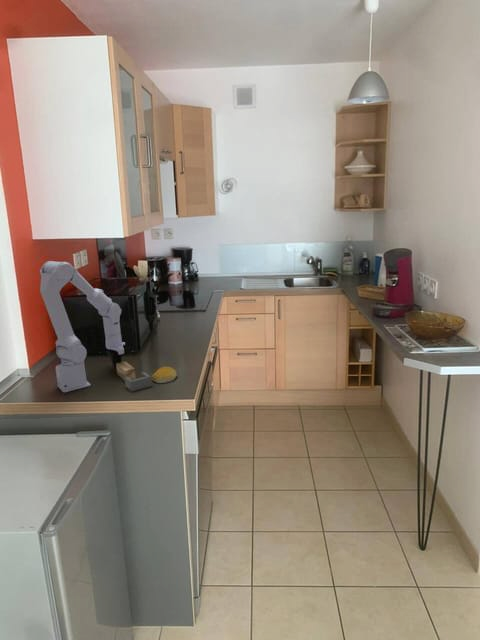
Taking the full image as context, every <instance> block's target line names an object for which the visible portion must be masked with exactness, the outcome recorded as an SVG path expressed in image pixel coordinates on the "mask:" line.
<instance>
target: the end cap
mask: <svg viewBox="0 0 480 640" xmlns="http://www.w3.org/2000/svg"><path fill="white" fill-rule="evenodd" d="M140 375H141V377H138V378H136V379H135V380H132V379H131V378H129V377H125V380H124V382H125V383H124V384H125V388H127V389H128V390H129V391H130V392H135V391H138V390H143V389H146V388H151V387H153V383H152V382H153V380H152V375H150V374H148V373H146V371H142V372H141V374H140Z"/></svg>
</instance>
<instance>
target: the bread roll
mask: <svg viewBox="0 0 480 640" xmlns="http://www.w3.org/2000/svg"><path fill="white" fill-rule="evenodd" d="M177 375H178V374H177V371H176V370H175V369H174V368H173V367H170V366H163V367H160V368H158V369H157V370H156V371H155V372H154V373H153V374H152V375H151V380H152V382H154V383H157V384H166V383H169V382H172V381H174V380H175V379H176V378H177V377H178V376H177Z"/></svg>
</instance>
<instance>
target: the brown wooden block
mask: <svg viewBox="0 0 480 640" xmlns="http://www.w3.org/2000/svg"><path fill="white" fill-rule="evenodd" d="M116 367H117V368H116V373H117V374H116V375H117V376H118V377H120V378H121V379H122V380H123V381H125V377H129V378H131V379H132V380H135V379H137V377H136V370H135V369H136V368H135V367H133V366H132V365H131V364H129V363H128V362H127V361H121V362H120V363H116Z"/></svg>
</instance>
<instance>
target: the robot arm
mask: <svg viewBox="0 0 480 640" xmlns="http://www.w3.org/2000/svg"><path fill="white" fill-rule="evenodd" d="M39 274H40V277H41V278H40V287H39V292H40V295H41V297H42V301H43V302H44V306H45V309H46V311H47V314H48V315H49V319H50V321H51V324H52V326H53V329H54V333H55V335H56V337H57V340H56V341H55V346H56V350H55V352H56V355H57V357H58V358H59V359H60V361H61V363H60V364H58V365H55V374H56V381H57V387H58V388H59V389H60V391H61V392H63V393H64V394H65V393H68V392H71V391H75V390H80V389H83V388H88V387H91V383H90V382H89V381H88V380H87V374H86V367H85V366H86V365H85V359H86V358H87V354H88V352H87V349H86V347H85V346H84V345H83V344H82V342H81V340H80V339H79V338H78V337H77V336H76V335H75V332H74V330H73V328H72V325H71V324H72V323H71V321H70V319H69V316H68V313H67V311H66V308H65V305H64V302H63V300H62V297H61V293H60V292H61V290H62V288H63V287H64V286H65V285H67V284H68V283H69V282H70V283H71V284H72V285H74V287H76V288H77V289H78V290H79V291H81V292H82V293H83V294H84V295H86V300H87V301H88V302H89V304H91V305H92V306H93V307H94V308H95V309H96V310H97V311H98V314H99V315H100V316H102V321H103V322H102V323H103V329H104V337H105V348H106V349H107V350H106V354H108V356H109V359H110V361H111V363H112V366H113V369H116V370H117V367H116V363H120V362H122V358H123V356H124V354H125V348H124V346H125V345H126V342H124V341H122V333H121V323H120V320H121V319H120V316H121V314H122V308H121V307H120V305H119V303H116V302H113V301H112V298H110V297H108V296H107V295H106V294H105V293H104V290H103V289H100V288H94V287H93V286H92V285H91V284H90V283H89V281H87V280H86V278H84V276H82V275H81V274H80V272H79V271H78V270H77V268H76V267H74V266H73V265H72V264H71V263H69V262H68V261H54V260H49V261H46V262H44V263H43V265H42V267H41V268H40V270H39Z"/></svg>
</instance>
